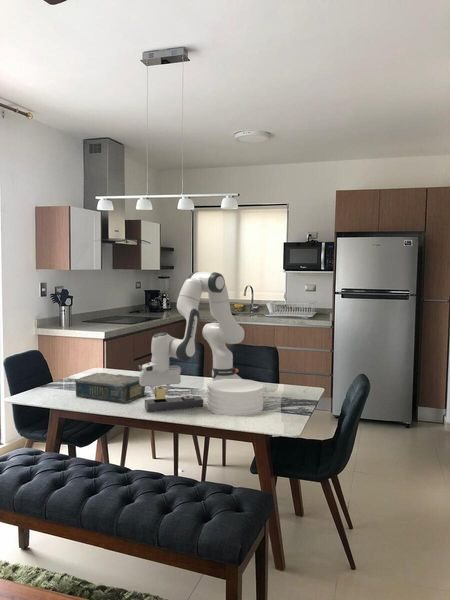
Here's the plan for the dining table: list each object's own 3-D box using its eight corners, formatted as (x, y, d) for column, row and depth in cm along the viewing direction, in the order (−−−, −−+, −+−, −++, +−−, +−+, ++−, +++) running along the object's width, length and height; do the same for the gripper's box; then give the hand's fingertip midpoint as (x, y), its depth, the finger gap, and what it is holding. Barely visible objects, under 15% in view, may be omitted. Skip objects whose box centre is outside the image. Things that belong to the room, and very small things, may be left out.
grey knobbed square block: (190, 405, 248) (190, 395, 247) (192, 407, 244) (193, 397, 243) (182, 405, 246) (182, 395, 246) (184, 408, 242) (184, 397, 242)
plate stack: (230, 397, 264) (230, 376, 264) (273, 406, 247) (274, 384, 246) (195, 408, 243) (195, 385, 242) (240, 419, 225) (240, 395, 224)
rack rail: (198, 403, 251) (198, 395, 251) (203, 407, 243) (203, 399, 243) (144, 407, 242) (144, 399, 242) (147, 412, 234) (147, 403, 234)
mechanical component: (137, 380, 300) (137, 364, 299) (154, 379, 303) (154, 363, 303) (138, 381, 297) (138, 365, 297) (155, 380, 300) (155, 364, 300)
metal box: (124, 404, 248) (124, 385, 247) (73, 397, 261) (73, 379, 260) (147, 395, 267) (147, 377, 267) (98, 388, 280) (98, 371, 280)
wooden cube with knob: (163, 396, 243) (163, 386, 242) (165, 398, 239) (165, 388, 238) (154, 397, 241) (154, 386, 241) (156, 399, 237) (156, 388, 237)
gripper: (179, 363, 245) (179, 390, 246) (138, 365, 239) (138, 393, 239) (182, 366, 239) (182, 393, 240) (140, 368, 233) (140, 396, 234)
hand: (160, 393), depth 240 cm, fingers closed on wooden cube with knob, 4 cm apart
